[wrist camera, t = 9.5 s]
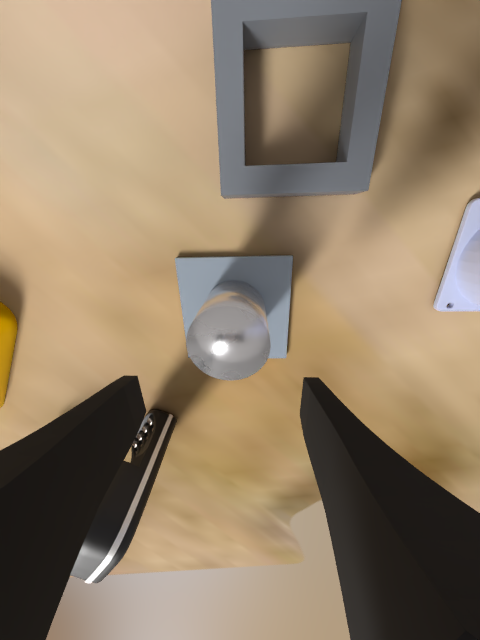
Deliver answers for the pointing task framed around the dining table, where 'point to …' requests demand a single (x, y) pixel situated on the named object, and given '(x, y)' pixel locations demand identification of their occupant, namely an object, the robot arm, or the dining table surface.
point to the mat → (255, 270)
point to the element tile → (6, 347)
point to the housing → (359, 98)
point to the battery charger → (124, 500)
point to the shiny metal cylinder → (230, 332)
